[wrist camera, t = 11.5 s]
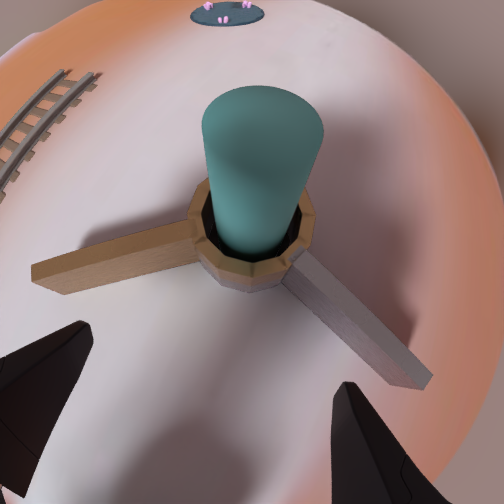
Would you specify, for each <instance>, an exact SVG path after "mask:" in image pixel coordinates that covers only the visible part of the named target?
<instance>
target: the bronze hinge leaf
mask: <svg viewBox="0 0 504 504" xmlns="http://www.w3.org/2000/svg"><path fill="white" fill-rule="evenodd" d="M212 207H213V203H212V196H211V190H210V183H209V177H208V178H207V179H206V180H204V181H203V182H202V183H201V184H199V185H198V186H197V189H196V191H195V194H194V196H193V199H192V201H191V204H190V207H189V209H188V212H187V217H188V219H187V220H183V221H179V222H175V223H171V224H168V225H164V226H160V227H156V228H152V229H149V230H145V231H141V232H138V233H134V234H130V235H127V236H123V237H120V238H116V239H113V240H109V241H106V242H103V243H99V244H96V245H92V246H89V247H86V248H83V249H79V250H76V251H73V252H70V253H66V254H63V255H60V256H57V257H54V258H51V259H48V260H45V261H42V262H39V263H36V264H33V265H31V280H32V282H33V283H35V284H38V285H40V286H42V287H45V288H47V289H50V290H52V291H55V292H57V293H60V294H63V295H66V294H70V293H74V292H78V291H82V290H86V289H90V288H94V287H98V286H102V285H106V284H110V283H114V282H118V281H121V280H125V279H129V278H133V277H137V276H141V275H145V274H149V273H153V272H157V271H161V270H165V269H169V268H173V267H177V266H181V265H185V264H189V263H193V262H197V261H200V259H201V260H202V261H203V262H204V263H205V264H206V265H207V266H208V267H209V268H210V269H211V270H212V271H213V272H214V273H215V274H216V275H217V276H218V277H219V278H221V279H225V280H229V281H232V282H236V283H240V284H244V285H247V286H255V285H258V284H262V283H266V282H270V281H273V280H277V279H281V278H282V277H283V276H284V275H285V274H286V273H287V272H288V270H289V268H290V267H291V265H292V264H293V263H291V261H289V259H288V258H289V257H290V256H291V255H292V254H293V253H294V252H295V251H296V249H297V248H298V247H299V246H300V245H302V246H303V247H304V248H305V249H306V250H308V248H309V247H310V245H311V240H312V235H313V229H314V224H315V218H316V214H315V211H314V209H313V206H312V204H311V201H310V199H309V196H308V194H307V191H306V189H305V187H304V189H303V192H302V194H301V197H300V199H299V202H298V204H297V207H296V209H295V212H294V214H293V217H292V220H293V223H294V225H295V228H296V231H295V235H294V240H293V244H292V245H291V246H290V247H289V248H288V249H287V250H286V251H285V252H284V253H283V254H282V255H281V256H279V257H275V258H271V259H267V260H264V261H260V262H256V263H250V262H246V261H242V260H238V259H234V258H231V257H227V256H225V255H224V254H223V253H222V252H221V251H219V250H218V249H217V248H216V247H215V246H214V245H213V244H212V243H211V242H210V241H209V240H208V239H207V237H206V232H205V226H206V223H207V220H208V217H209V214H210V211H211V208H212ZM299 249H300V248H299ZM297 251H298V250H297ZM299 254H300V253H299ZM299 254H298V255H299ZM301 254H302V253H301ZM298 255H297V256H298ZM299 257H300V256H299ZM199 258H200V259H199ZM287 259H288V260H287ZM291 259H292V258H291ZM294 259H295V258H294ZM297 259H298V258H297ZM297 259H295V261H296V260H297ZM292 262H293V261H292Z"/></svg>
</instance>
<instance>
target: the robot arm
mask: <svg viewBox="0 0 504 504" xmlns="http://www.w3.org/2000/svg"><path fill="white" fill-rule="evenodd" d="M92 346H93V335H92V331H91V327H90V325H89V323H87V322H84V321H81V320H79V321H76V322H74V323H72V324H70V325H68V326H66V327H64V328H62V329H60V330H58V331H55V332H53V333H51V334H49V335H47V336H45V337H43V338H41V339H39V340H37V341H35V342H33V343H31V344H29V345H27V346H25V347H23V348H20V349H18V350H16V351H14V352H12V353H10V354H8V355H6V357H5V356H4V357H2V358H0V504H6V502H5V500H4V496H3V493H2V490H1V489H2V487H3V486H4V487H6V488H7V489H9V490H10V491H12V492H14V493H15V494H17V495H19V496H20V497H22V498H25V496H26V493H27V490H28V488H29V485H30V482H31V480H32V477H33V475H34V472H35V470H36V467H37V465H38V462H39V459H40V457H41V455H42V452H43V450H44V448H45V446H46V443H47V441H48V439H49V437H50V435H51V432H52V430H53V428H54V426H55V424H56V422H57V420H58V418H59V416H60V414H61V412H62V410H63V408H64V406H65V404H66V402H67V400H68V398H69V396H70V394H71V392H72V390H73V388H74V386H75V384H76V383H77V381H78V379H79V377H80V374H81V372H82V370H83V367H84V365H85V362H86V360H87V357H88V355H89V353H90V350H91V348H92ZM331 471H332V504H452V503H450V502H448V501H447V500H446V499H445V498H444V497H443V496H442V495H441V494H440V493H439V492H438V490H437V489H436V488H435V487H434V486H433V485H432V484H431V483H430V482H429V481H428V480H427V478H426V477H425V476H424V475H423V474H422V473H421V472H420V470H419V469H418V468H417V466H416V465H415V464H414V463H413V461H412V460H411V458H410V457H409V456H408V454H406V452H405V450H404V449H403V448H402V446H401V445H400V443H399V442H398V441H397V439H396V438H395V437H394V435H393V434H392V432H391V431H390V430H389V428H388V427H387V426H386V424H385V423H384V421H383V420H382V419H381V417H380V416H379V415H378V413H377V412H376V410H375V409H374V408H373V406H372V405H371V404H370V402H369V401H368V399H367V398H366V397H365V395H364V394H363V393H362V391H361V390H360V389H359V387H358V386H357V384H356V383H354V382H346V381H345V382H343V383H342V384H341V386H340V387H339V389H338V390H337V392H336V393H335V395H334V398H333V409H332V424H331Z"/></svg>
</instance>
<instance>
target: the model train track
mask: <svg viewBox="0 0 504 504" xmlns="http://www.w3.org/2000/svg"><path fill="white" fill-rule="evenodd" d="M64 71H65V70H64V69H60V70H59V71H58V72H56V73H55V74H54V75H53V76H52V77H51V78H50V79H49V80H48V81H47V82H46V83H45V84H44V85H42V86H41V87H40V88H39V89H38V90H37V91H36V92H35V93H34V94H33V95H32V96H31V98H30V99H29V100H28V101H27V102H26V103H25V104H24V105H23V106H22V107H21V108H20V109H19V110H18V112H17V113H16V114H15V115H14V116H13V117H12V118H11V120H10V121H9V122H8V123H7V124H6V126H5V127H4V128H3V129H2V131H1V132H0V149H1V148H2V146H3V147H5V148H6V149H8V150H9V151H11V152H13V153H12V155H11V156H10V158H9V159H8V160H7V162H4V161H3V160H1V159H0V204H1V202H2V201H3V199H4V197H5V196H6V193H4V192H3V189H4V188H5V186H6V185H7V183H8V181H9V180H10V181H12V182H15V180H16V179H17V177H18V176H19V175H20V172H18V171H17V168H18V167H19V166H20V164H21V163H22V162H23V160H25V161H27V162H28V161H30V159H31V158H32V157H33V155H34V154H35V152H34V151H32V148H33V147H34V146H35V145H36V143H37V142H38V141H39V140H40V141H42V142H44V141H45V140H46V139H47V138H48V137H49V136H50V134H51V133H49V132H47V130H48V129H49V128H50V127H51V126H52V125H53V123H57V124H60V123H61V122H62V121H63V120H64V119H65V118H66V116H65V115H62V114H63V112H64V111H65V110H66V109H67V108H68V107H69V106H71V107H76V106H77V105H78V104H79V103H80V102H81V101H82V100H81V99H77V98H78V97H79V96H80V95H81V94H82V93H83V92H84V91H88V92H91V91H92V90H93V89H95V88H96V87H97V85H95V84H93V83H94V82H95V81H96V80H97V79H95V78H94V76H93V75H94V73H92V72H88V73H87V74H86V75H85V76H84V77H82V78H81V79H80V80H79V81H78V82H77V81H70V80H63V79H64V78H65V77H66V76H67V75H66V74H65V73H64ZM56 86H62V87H68V88H70V89H69V90H68V91H67V92H66V93H65V94H64V95H58V94H53V93H49V92H50V91H52V90H53V89H54V88H55V87H56ZM43 99H44V100H48V101H52V102H56V103H55V104H54V105H53V106H52V107H51V108H50V109H49V111H48V110H45V109H41V108H38V107H36V106H37V105H38V104H39V103H40V102H41V101H42V100H43ZM29 114H31V115H34V116H37V117H40V118H41V119H40V120H39V122H38V123H37V124H36V125H35V126H32V125H29V124H26V123H24V122H22V121H23V120H24V119H25V118H26V117H27V116H28V115H29ZM15 130H18V131H21V132H23V133H25V134H27V136H26V137H25V138H24V139H23V141H22V142H21V143H20V144H19V143H17V142H15V141H13V140H11V139H9V137H10V136H11V135H12V133H13V132H14V131H15Z"/></svg>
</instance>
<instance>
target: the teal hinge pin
mask: <svg viewBox="0 0 504 504" xmlns="http://www.w3.org/2000/svg"><path fill="white" fill-rule="evenodd" d="M202 133H203V141H204V148H205V155H206V162H207V169H208V176H209V183H210V190H211V196H212V203H213V209H214V216H215V222H216V228H217V234H218V241H219V246H220V250H221V252H222V253H223V254H224V255H225V256H227V257H231V258H234V259H238V260H242V261H246V262H250V263H256V262H260V261H264V260H267V259H271V258H275V257H276V255H277V253H278V251H279V249H280V246H281V244H282V241H283V239H284V236H285V234H286V232H287V229H288V227H289V224H290V222H291V219H292V217H293V214H294V212H295V209H296V207H297V204H298V202H299V199H300V197H301V194H302V192H303V189H304V187H305V184H306V182H307V179H308V177H309V174H310V172H311V169H312V166H313V164H314V161H315V159H316V156H317V153H318V151H319V148H320V146H321V143H322V140H323V133H324V130H323V124H322V121H321V119H320V117H319V115H318V113H317V112H316V110H315V109H314V108H313V107H312V106H311V105H310V104H309V103H308V102H307V101H305V100H304V99H302V98H301V97H299V96H297V95H296V94H293V93H291V92H289V91H286V90H283V89H280V88H276V87H270V86H246V87H240V88H236V89H233V90H230V91H228V92H226V93H224V94H222V95H220V96H219V97H217V98H216V99H215V100H214V101H212V103H211V104H210V105H209V106H208V107H207V109H206V110H205V112H204V115H203V118H202Z"/></svg>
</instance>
